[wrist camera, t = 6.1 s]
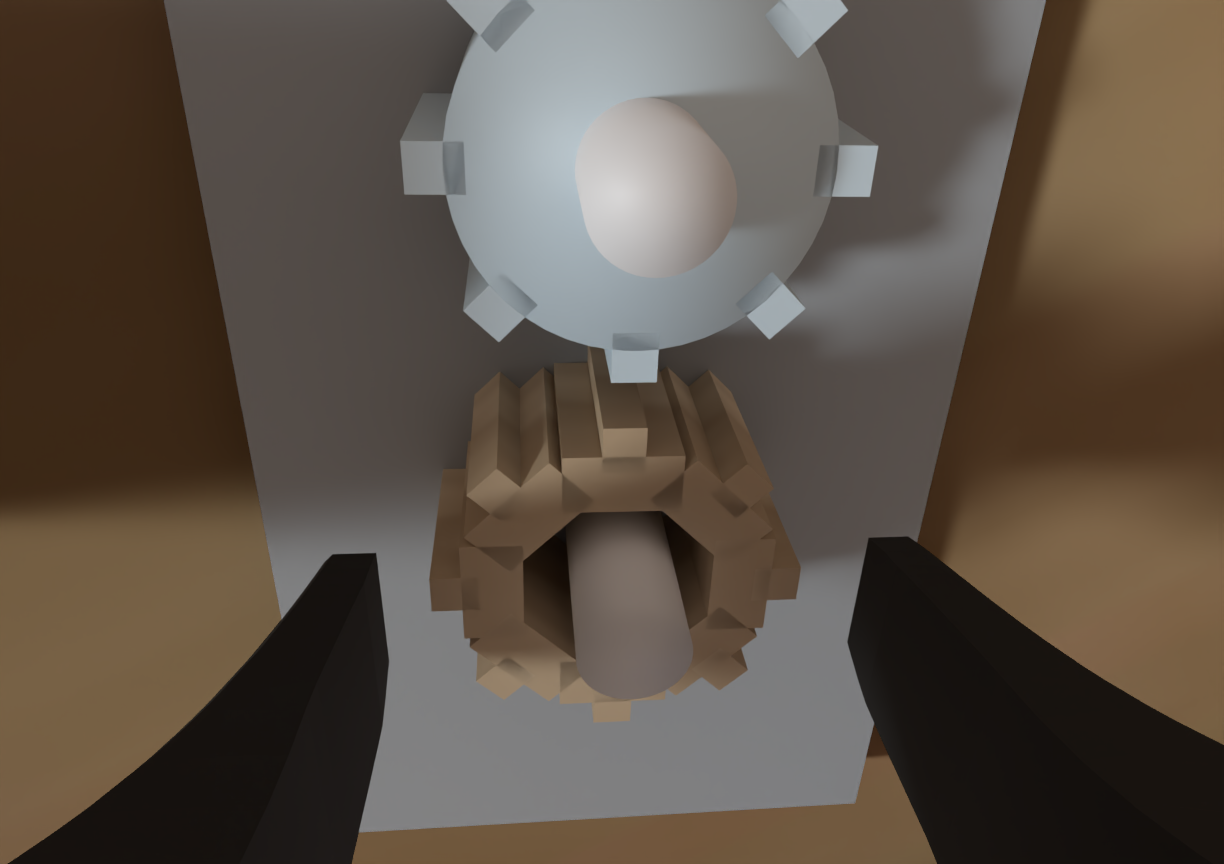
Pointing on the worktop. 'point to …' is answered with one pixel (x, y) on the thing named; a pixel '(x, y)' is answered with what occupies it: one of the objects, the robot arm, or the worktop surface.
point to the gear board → (425, 359)
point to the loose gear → (604, 482)
